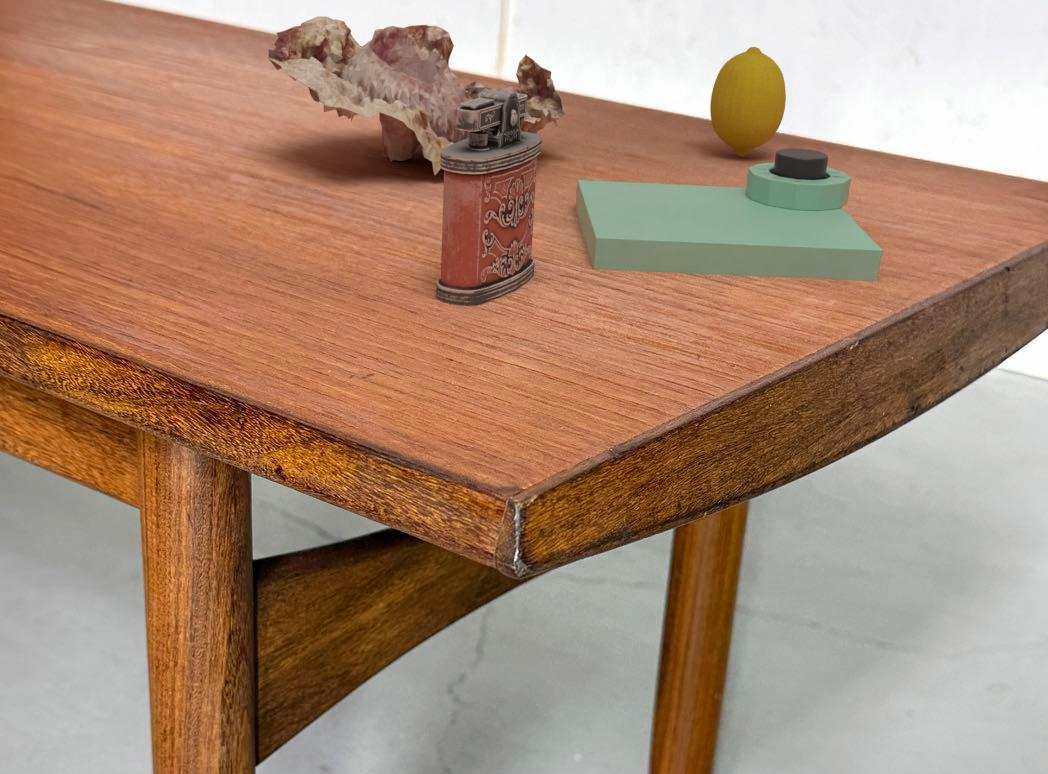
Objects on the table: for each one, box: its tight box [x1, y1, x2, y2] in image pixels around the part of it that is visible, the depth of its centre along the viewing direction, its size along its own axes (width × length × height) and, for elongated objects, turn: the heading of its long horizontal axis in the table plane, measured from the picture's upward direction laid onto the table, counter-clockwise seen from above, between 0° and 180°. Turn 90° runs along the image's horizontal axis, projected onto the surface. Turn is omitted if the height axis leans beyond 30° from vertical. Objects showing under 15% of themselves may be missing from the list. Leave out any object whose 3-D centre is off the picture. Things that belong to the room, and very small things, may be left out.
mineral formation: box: [267, 15, 566, 176], centre depth 104 cm, size 23×16×10 cm
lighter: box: [435, 89, 543, 307], centre depth 76 cm, size 8×3×10 cm, turn 154°
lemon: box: [709, 46, 787, 158], centre depth 111 cm, size 6×6×8 cm
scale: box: [575, 161, 883, 282], centre depth 89 cm, size 17×15×4 cm
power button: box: [773, 147, 829, 180], centre depth 92 cm, size 3×3×2 cm
